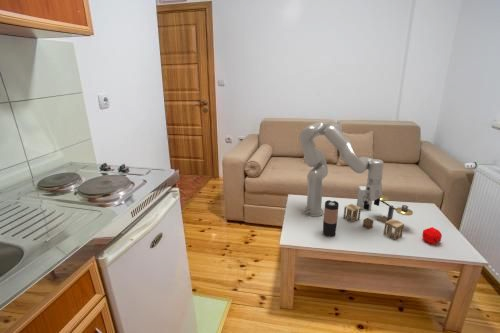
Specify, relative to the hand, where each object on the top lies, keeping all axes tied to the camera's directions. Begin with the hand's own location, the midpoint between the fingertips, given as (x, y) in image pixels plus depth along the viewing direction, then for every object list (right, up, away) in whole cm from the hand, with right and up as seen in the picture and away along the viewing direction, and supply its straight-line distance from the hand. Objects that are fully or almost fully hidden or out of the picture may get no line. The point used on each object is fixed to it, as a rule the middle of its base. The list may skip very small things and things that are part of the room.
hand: (371, 207), depth 169 cm
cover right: (+11, -16, -4) cm, 19 cm away
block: (0, -13, +5) cm, 14 cm away
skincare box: (+7, -5, +28) cm, 29 cm away
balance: (+15, -11, +10) cm, 21 cm away
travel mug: (-26, -15, -1) cm, 30 cm away
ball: (+29, -18, -10) cm, 35 cm away
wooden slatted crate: (-7, -10, +14) cm, 19 cm away
